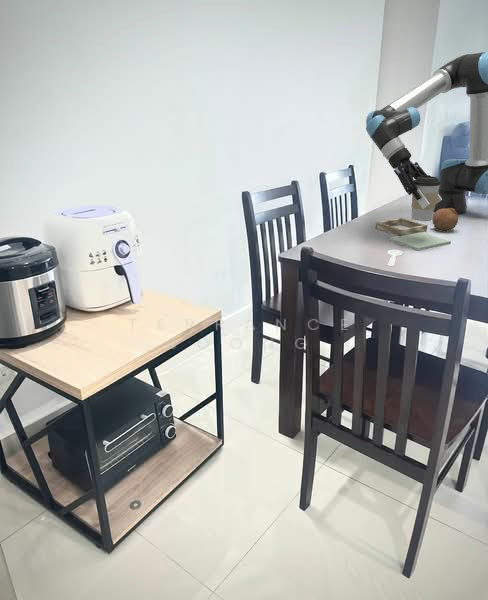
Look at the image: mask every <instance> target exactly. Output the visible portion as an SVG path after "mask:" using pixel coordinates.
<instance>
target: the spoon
mask: <svg viewBox="0 0 488 600" xmlns="http://www.w3.org/2000/svg"><path fill="white" fill-rule="evenodd" d="M386 254H387V255H389V256H390V259H389V261H387V262H388V263H387V264H386V265H387V266H388V267H395V266H396V259H397V257H398V256H399V257H401V256H403V254H404V251H403V250H401V249H396V248H394V249H389V250H387V252H386Z"/></svg>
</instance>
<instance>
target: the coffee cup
mask: <svg viewBox="0 0 488 600" xmlns="http://www.w3.org/2000/svg"><path fill="white" fill-rule="evenodd" d="M414 182H415V184H416V187H417V190H418V189H420V191H421V192H422V194H423V195H424V196H425V198H426V199H427V201H428V202H429V203H430V204H429V205H428V206H427V207H425V208H424V209H422V207H421V206H420V204H419V203H418V202H417V200H416V199H415V197H414V196H413V195H412V194H411V196H412V197H411V215H410V216H411V217H410V219H411V220H412V221H416V222H418V221H420V222H429V221H432V217H433V215H434V208H435V205H436V201H437V197H438V192H439V191H438V190H439V186H440V182H441V181H440V179H439V178H438V177H437V176H432V175H429V174H427V175H422V176H420V177H417V178H416V180H415V179H414Z"/></svg>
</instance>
